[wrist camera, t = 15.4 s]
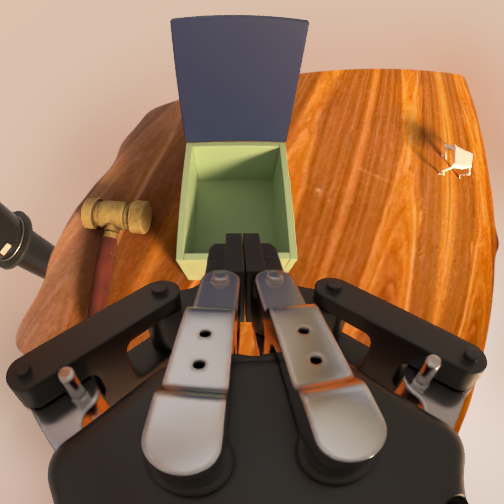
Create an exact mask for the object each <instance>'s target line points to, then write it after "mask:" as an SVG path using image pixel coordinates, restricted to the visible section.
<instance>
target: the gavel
mask: <svg viewBox="0 0 504 504" xmlns="http://www.w3.org/2000/svg"><path fill="white" fill-rule="evenodd" d="M151 220H152V208H151V205H150V203H149V201H142V200H134V201H133V202H132V203H130V202H122V201H103V200H102V199H101V198H87V199H86V200H85V202H84V203H83V206H82V209H81V221H82V224H83V226H84V227H85V228H88V229H99V228H100V227H102V228H105V232H104V235H103V238H102V241H101V243H100V246H99V251H98V256H97V261H96V266H95V271H94V277H93V282H92V288H91V295H90V302H89V309H88V317H87V318H89V317H91V316H92V315H94V314H96V313H98V312H99V311H101V310H103V309H105V308H107V301H108V294H109V288H110V282H111V276H112V270H113V265H114V259H115V254H116V249H117V238H118V234H119V230H120V229H121V230H128V229H129V230H130V232H132V233H139V234H146V233H147V231H148V230H149V228H150V225H151Z"/></svg>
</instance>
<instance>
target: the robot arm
mask: <svg viewBox="0 0 504 504" xmlns="http://www.w3.org/2000/svg"><path fill="white" fill-rule="evenodd" d="M24 237H25V224H24V222H23V220H22V219H21V218H20V217H19V216H16V215H15V214H14V213H13V212H11V211H10V210H9V209H8V208H7V207H5V206H4V205H3V204H2V203H0V260H1V261H3V262H7V261H10V260H12V259H13V258H14V257H15V256H16V255H17V253H18V252H19V250H20V249H21V246H22V244H23V241H24ZM244 302H245V316H246V322H252V327H253V329H254V341H255V345H256V350H257V355H258V356H246V355H240V354H239V345H240V322H244ZM344 322H347V323H349V324H350V325H352V326H354V327H356V328H358V329H360V330H361V331H363V332H365V333H366V334H367V335H368V336H369V337H370V340H371V345H370V348H369V347H368V346H366V345H364V344H362V343H361V342H359V341H357V340H355V339H354V338H352V337H350V336H348V335H347V334H345V333H343V332H342V329H343V326H344ZM148 329H149V332H150V336H151V337H149V338H148V339H146V340H145V341H143V342H142V343H140V344H139V345H137V346H136V347H134V348H133V349H131V350H130V351H128V352H127V346H128V344H129V343H130V341H131V340H132V339H134V338H135V337H137V336H138V335H140V334H141V333H143V332H145V331H146V330H148ZM486 366H487V360H486V357H485V355H484V353H483V352H482V351H481V350H480V349H479V348H478V347H477V346H475V345H473V344H471V343H469V342H467V341H465V340H463V339H461V338H459V337H457V336H455V335H453V334H451V333H449V332H447V331H445V330H443V329H441V328H439V327H437V326H435V325H433V324H431V323H429V322H427V321H425V320H423V319H421V318H419V317H417V316H415V315H413V314H411V313H409V312H407V311H405V310H403V309H401V308H399V307H397V306H395V305H393V304H391V303H388V302H386V301H384V300H382V299H380V298H378V297H376V296H374V295H372V294H370V293H368V292H366V291H364V290H362V289H360V288H357V287H355V286H353V285H351V284H349V283H347V282H345V281H343V280H340V279H336V278H324V279H321V280H319V281H317V282H316V284H315V289H311V288H304V287H300V286H297V285H296V283H295V281H294V279H293V277H292V276H291V275H290V274H289V273H287V272H284V271H283V268H282V265H281V261H280V259H279V255H278V252H277V249H276V248H275V247H274V246H273V245H272V244H270V243H261V242H260V237H259V233H243V245H242V233H226V242H225V244H214V245H212V246H211V247H210V248H209V253H208V259H207V265H206V271H205V275H204V276H203V277H202V279H201V282H200V284H199V285H198V286H196V287H193V288H190V289H186V290H181V291H180V289H179V287H178V285H177V284H175V283H173V282H170V281H157V282H153V283H150V284H148V285H146V286H144V287H143V288H141V289H139V290H137V291H135V292H134V293H132V294H130V295H128V296H126V297H125V298H123V299H121V300H119V301H117V302H116V303H114V304H112V305H110V306H108V307H107V308H105V309H103V310H101V311H99V312H98V313H96V314H94V315H92V316H91V317H89V318H87V319H85V320H84V321H82V322H80V323H78V324H77V325H75V326H73V327H71V328H70V329H68V330H66V331H64V332H63V333H61V334H59V335H57V336H56V337H54V338H52V339H51V340H49V341H47V342H45V343H44V344H42V345H40V346H39V347H37V348H35V349H33V350H32V351H30V352H28V353H27V354H25V355H23V356H22V357H20V358H18V359H17V360H15V361H14V362H13V363H12V364H11V365H10V367H9V369H8V371H7V374H6V381H7V383H8V385H9V387H10V388H11V389H12V391H13V392H14V393H15V395H16V396H17V397H18V398H19V400H20V401H21V402H22V403H23V405H24V406H25V407H26V408H27V409H28V411H29V412H30V413H31V414H32V415H33V417H34V418H35V419H36V421H37V423H38V424H39V426H40V428H41V430H42V432H43V433H44V435H45V437H46V438H47V440H48V442H49V443H50V445H51V446H52V448H53V449H54V451H55V452H54V454H53V456H52V458H51V460H50V464H49V468H48V482H49V487H50V490H51V494H52V497H53V501H54V504H468V502H467V500H466V497H465V490H464V462H465V454H464V448H463V444H462V442H461V439H460V437H459V436H458V434H457V433H456V431H455V430H454V429H453V428H454V426H455V423H456V421H457V419H458V416H459V414H460V411H461V409H462V406H463V403H464V401H465V398H466V396H467V395H468V393H469V392H470V391H471V390H472V388H473V387H474V384H475V382H476V381H477V379H478V378H479V377H480V375H481V374H482V373H483V371H484V369H485V368H486Z"/></svg>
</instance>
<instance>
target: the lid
mask: <svg viewBox="0 0 504 504" xmlns="http://www.w3.org/2000/svg"><path fill="white" fill-rule="evenodd" d="M308 25H309V22H308V21H307V20H300V19H292V18H283V17H271V16H252V15H215V16H197V17H185V18H175V19H172V20H171V32H172V42H173V51H174V60H175V69H176V76H177V84H178V92H179V100H180V107H181V114H182V121H183V127H184V134H185V140H186V142H201V141H273V142H286V140H287V135H288V130H289V124H290V119H291V114H292V109H293V104H294V99H295V94H296V89H297V84H298V79H299V73H300V67H301V63H302V57H303V52H304V47H305V42H306V36H307V31H308Z"/></svg>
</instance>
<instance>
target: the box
mask: <svg viewBox="0 0 504 504" xmlns="http://www.w3.org/2000/svg"><path fill="white" fill-rule="evenodd" d="M226 233H242V245H243V233H259V237H260V242H261V243H270V244H272V245H273V246H274V247H275V248H276V249H277V252H278V255H279V259H280V261H281V265H282V268H283V271H284V272H287V273H288V272H289V271H290V269H291V268H292V266H293V265H294V263H295V262H296V261H297V259H298V258H297V247H296V236H295V225H294V215H293V205H292V196H291V187H290V178H289V170H288V161H287V153H286V146H285V143H278V142H196V143H186V151H185V159H184V167H183V176H182V186H181V196H180V207H179V219H178V233H177V249H176V261H177V263H178V264H179V266H180V268H181V269H182V271H183V272H184V274H185V275H186V277H187V278H188V280H201V279H202V277H203V276H204V275H205V271H206V265H207V259H208V253H209V248H210V247H211V246H212V245H214V244H225V242H226Z"/></svg>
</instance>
